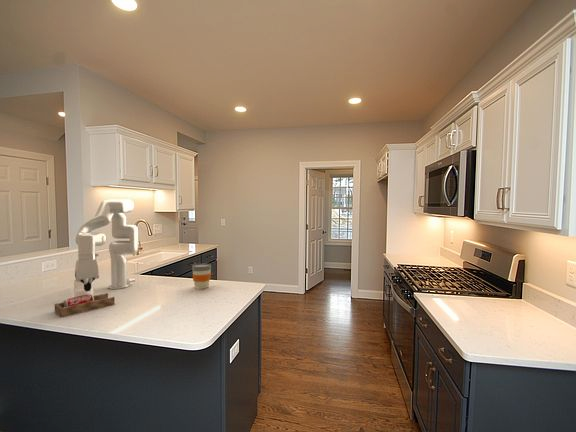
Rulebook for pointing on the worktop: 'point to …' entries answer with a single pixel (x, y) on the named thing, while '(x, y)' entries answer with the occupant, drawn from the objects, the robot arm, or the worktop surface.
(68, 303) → the soda can
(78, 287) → the cylinder with rectangular tab
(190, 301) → the worktop surface
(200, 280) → the reusable coffee cup
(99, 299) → the u rest
